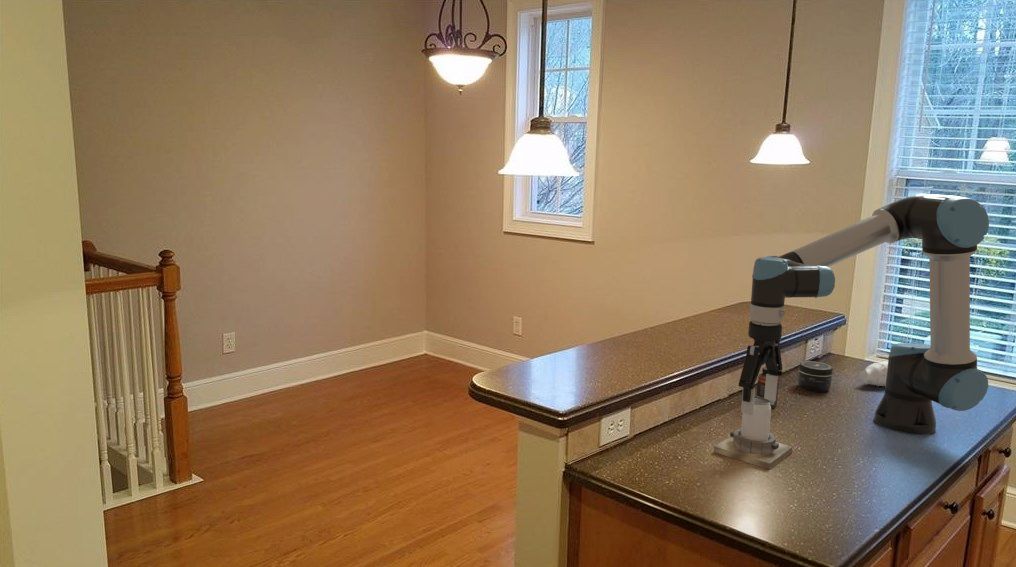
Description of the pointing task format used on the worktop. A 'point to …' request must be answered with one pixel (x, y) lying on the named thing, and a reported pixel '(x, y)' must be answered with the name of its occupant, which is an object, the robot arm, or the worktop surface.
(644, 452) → the worktop surface
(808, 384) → the jar
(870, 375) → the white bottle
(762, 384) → the supplement bottle
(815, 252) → the robot arm
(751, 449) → the grey ring holder base
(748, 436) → the can
